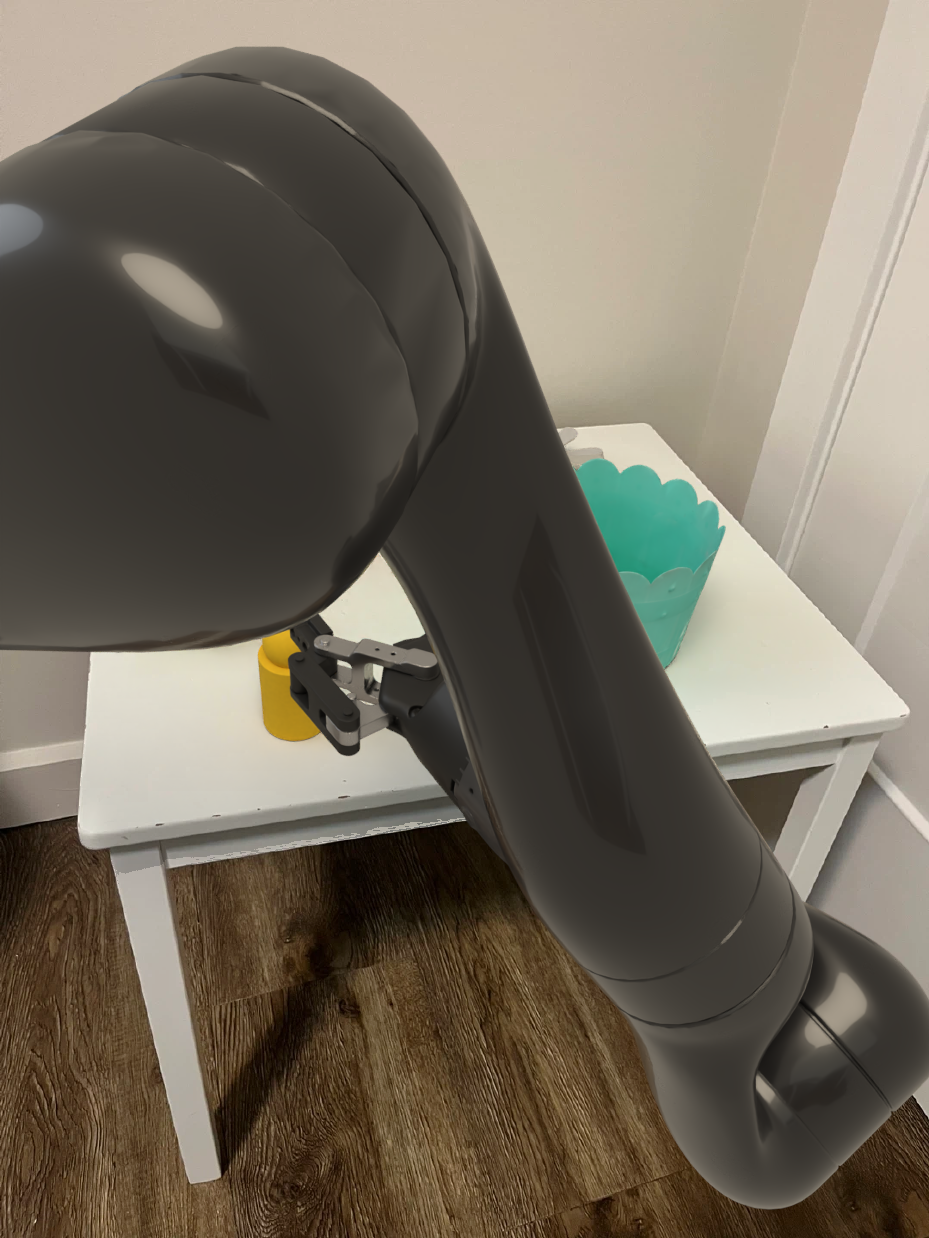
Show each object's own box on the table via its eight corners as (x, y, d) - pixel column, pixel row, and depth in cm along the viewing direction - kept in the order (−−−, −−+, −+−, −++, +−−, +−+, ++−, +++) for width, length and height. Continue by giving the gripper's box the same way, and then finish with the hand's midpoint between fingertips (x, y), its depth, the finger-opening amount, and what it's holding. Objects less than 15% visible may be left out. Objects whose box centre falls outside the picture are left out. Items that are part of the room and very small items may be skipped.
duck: (339, 726, 73) (338, 626, 67) (279, 750, 71) (272, 648, 64) (307, 682, 77) (302, 583, 70) (248, 702, 75) (239, 602, 68)
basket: (510, 698, 77) (528, 575, 69) (473, 572, 91) (484, 457, 83) (720, 685, 81) (761, 566, 73) (653, 565, 95) (681, 455, 87)
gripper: (648, 661, 45) (466, 507, 55) (400, 770, 39) (245, 572, 49) (621, 764, 50) (458, 605, 60) (396, 877, 43) (255, 676, 53)
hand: (363, 590), depth 54 cm, fingers open, 8 cm apart
